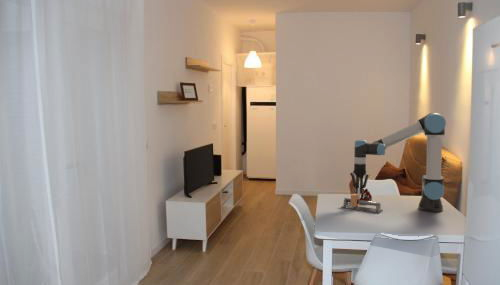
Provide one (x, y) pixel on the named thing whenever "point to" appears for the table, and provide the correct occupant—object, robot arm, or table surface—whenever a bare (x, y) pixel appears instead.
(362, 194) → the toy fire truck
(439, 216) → the table surface
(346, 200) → the rail
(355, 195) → the collar
